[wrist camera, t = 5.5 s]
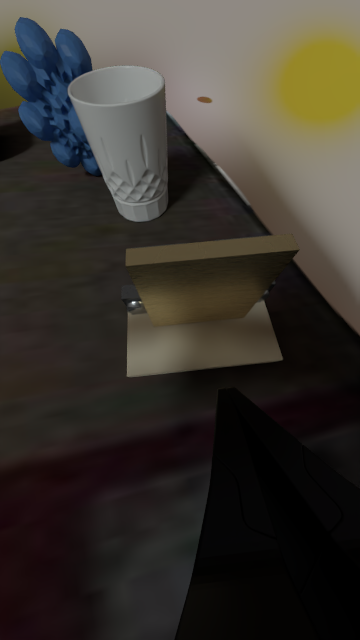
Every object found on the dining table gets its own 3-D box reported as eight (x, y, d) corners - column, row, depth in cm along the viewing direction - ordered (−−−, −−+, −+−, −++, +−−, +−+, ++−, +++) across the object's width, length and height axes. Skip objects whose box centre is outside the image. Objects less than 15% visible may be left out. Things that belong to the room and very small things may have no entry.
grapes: (70, 204, 24) (-31, 40, 13) (57, 178, 26) (-38, 20, 15) (147, 177, 26) (119, 13, 15) (128, 155, 28) (92, -1, 17)
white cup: (184, 205, 23) (184, 81, 14) (137, 235, 21) (102, 115, 12) (147, 179, 25) (126, 58, 16) (102, 205, 24) (49, 84, 14)
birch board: (277, 361, 15) (283, 359, 14) (130, 377, 15) (127, 376, 14) (255, 290, 18) (258, 284, 17) (131, 302, 18) (128, 297, 17)
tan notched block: (243, 317, 15) (299, 249, 8) (154, 326, 15) (125, 265, 8) (233, 276, 17) (270, 187, 10) (152, 283, 17) (127, 200, 10)
